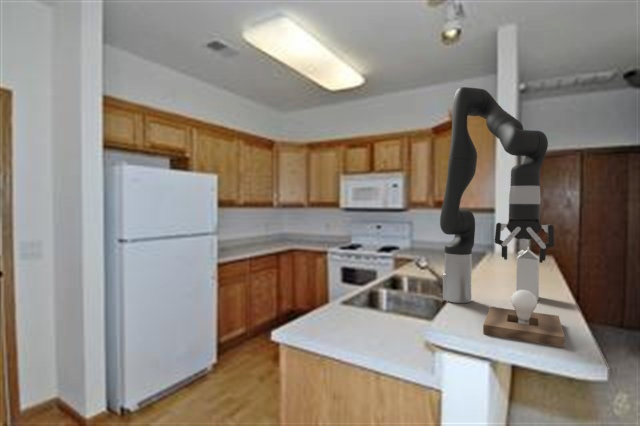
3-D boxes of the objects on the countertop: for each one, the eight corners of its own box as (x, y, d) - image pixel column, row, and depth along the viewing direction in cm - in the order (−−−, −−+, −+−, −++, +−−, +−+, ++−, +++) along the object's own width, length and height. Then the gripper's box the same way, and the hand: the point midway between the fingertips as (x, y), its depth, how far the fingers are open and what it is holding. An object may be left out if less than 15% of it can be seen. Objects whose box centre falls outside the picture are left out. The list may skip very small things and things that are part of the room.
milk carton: (538, 296, 136) (539, 247, 135) (538, 301, 130) (538, 248, 129) (517, 294, 140) (517, 245, 139) (516, 298, 134) (516, 247, 133)
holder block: (483, 333, 96) (483, 324, 96) (490, 314, 113) (490, 306, 113) (564, 347, 87) (564, 337, 87) (558, 324, 104) (558, 315, 104)
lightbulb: (527, 334, 96) (528, 293, 95) (505, 327, 101) (506, 288, 101) (541, 330, 98) (542, 290, 98) (519, 323, 104) (520, 286, 104)
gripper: (494, 202, 100) (493, 260, 100) (555, 202, 92) (554, 265, 93) (496, 202, 106) (495, 257, 106) (554, 202, 99) (552, 261, 99)
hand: (522, 260), depth 100 cm, fingers open, 8 cm apart
